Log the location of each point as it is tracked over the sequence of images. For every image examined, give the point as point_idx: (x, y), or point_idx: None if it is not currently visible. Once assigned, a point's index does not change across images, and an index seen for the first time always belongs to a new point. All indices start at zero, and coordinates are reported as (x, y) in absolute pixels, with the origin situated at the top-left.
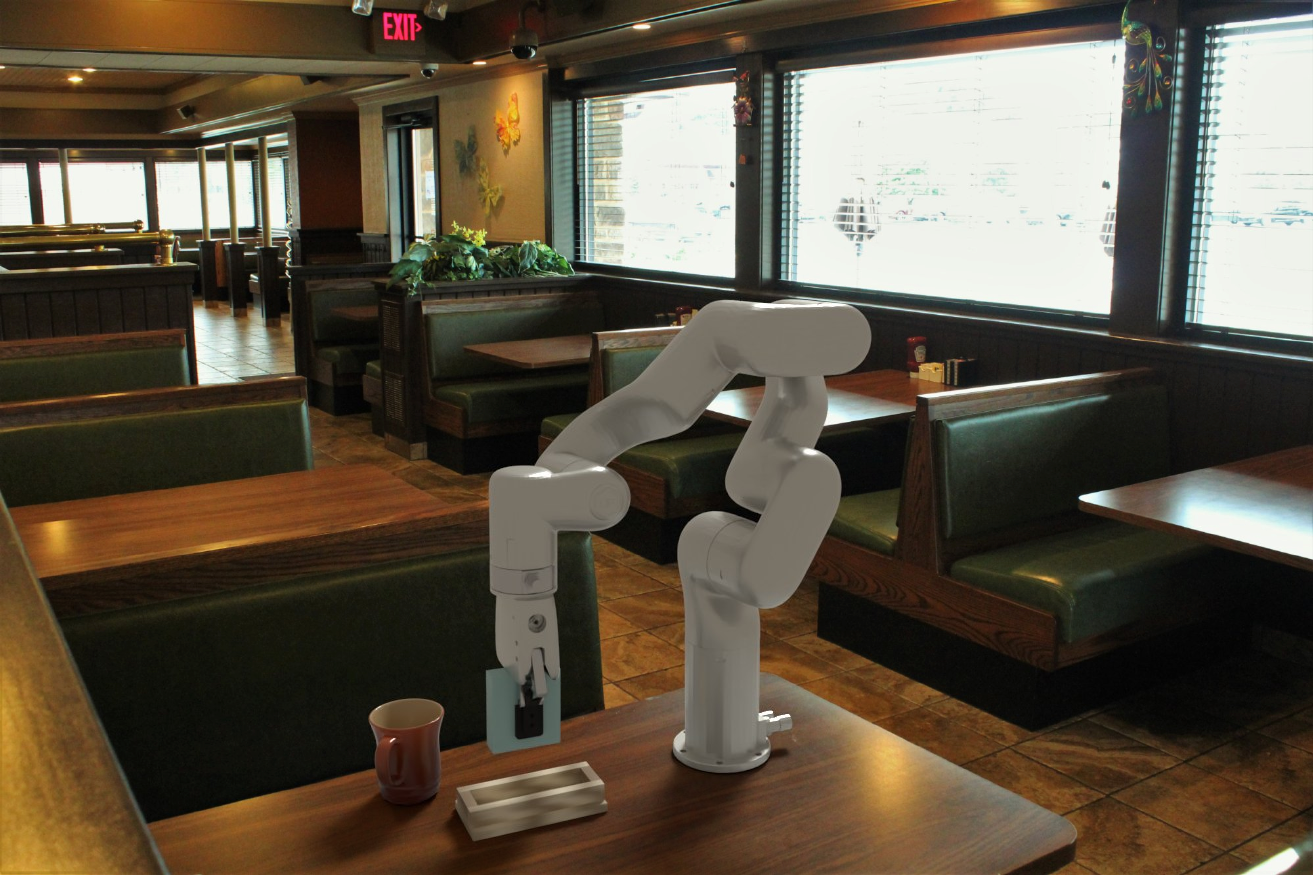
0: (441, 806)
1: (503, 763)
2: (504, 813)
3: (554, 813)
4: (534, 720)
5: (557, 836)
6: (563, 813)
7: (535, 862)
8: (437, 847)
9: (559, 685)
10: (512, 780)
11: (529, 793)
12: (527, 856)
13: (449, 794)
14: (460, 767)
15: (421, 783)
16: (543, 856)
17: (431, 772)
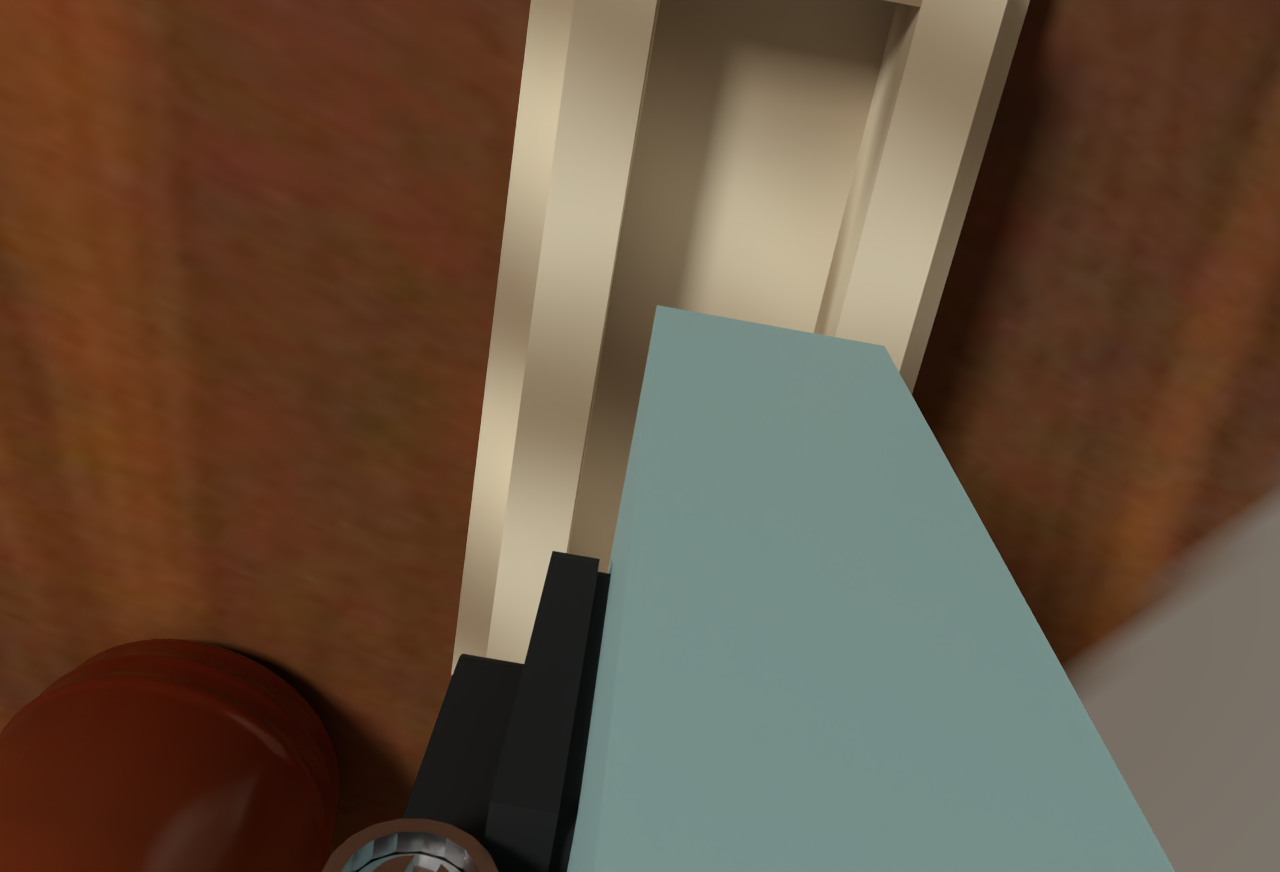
0: (405, 687)
1: (62, 220)
2: None
3: (915, 321)
4: None
5: (1051, 368)
6: (947, 272)
7: (1175, 570)
8: None
9: (1107, 779)
10: (566, 467)
11: (606, 331)
12: (1100, 575)
13: (304, 614)
14: (19, 452)
15: (316, 835)
16: (1160, 516)
17: (281, 815)
